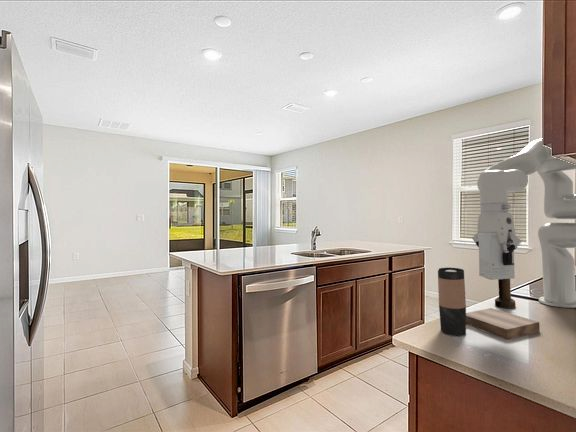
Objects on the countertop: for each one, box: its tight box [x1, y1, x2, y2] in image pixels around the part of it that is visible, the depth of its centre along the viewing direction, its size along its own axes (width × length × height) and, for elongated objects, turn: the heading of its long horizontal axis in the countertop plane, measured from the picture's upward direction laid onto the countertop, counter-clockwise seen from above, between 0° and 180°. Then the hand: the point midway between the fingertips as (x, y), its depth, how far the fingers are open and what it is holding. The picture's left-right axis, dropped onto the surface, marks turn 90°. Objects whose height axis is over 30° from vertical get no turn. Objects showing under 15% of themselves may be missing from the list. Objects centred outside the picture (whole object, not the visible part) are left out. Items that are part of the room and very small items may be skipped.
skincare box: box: [477, 232, 515, 281], centre depth 103 cm, size 8×6×15 cm
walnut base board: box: [466, 307, 540, 340], centre depth 103 cm, size 14×16×3 cm
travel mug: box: [437, 267, 467, 337], centre depth 101 cm, size 8×8×20 cm
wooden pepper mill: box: [494, 279, 517, 309], centre depth 123 cm, size 7×6×18 cm
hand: (496, 262), depth 103 cm, fingers closed on skincare box, 6 cm apart
